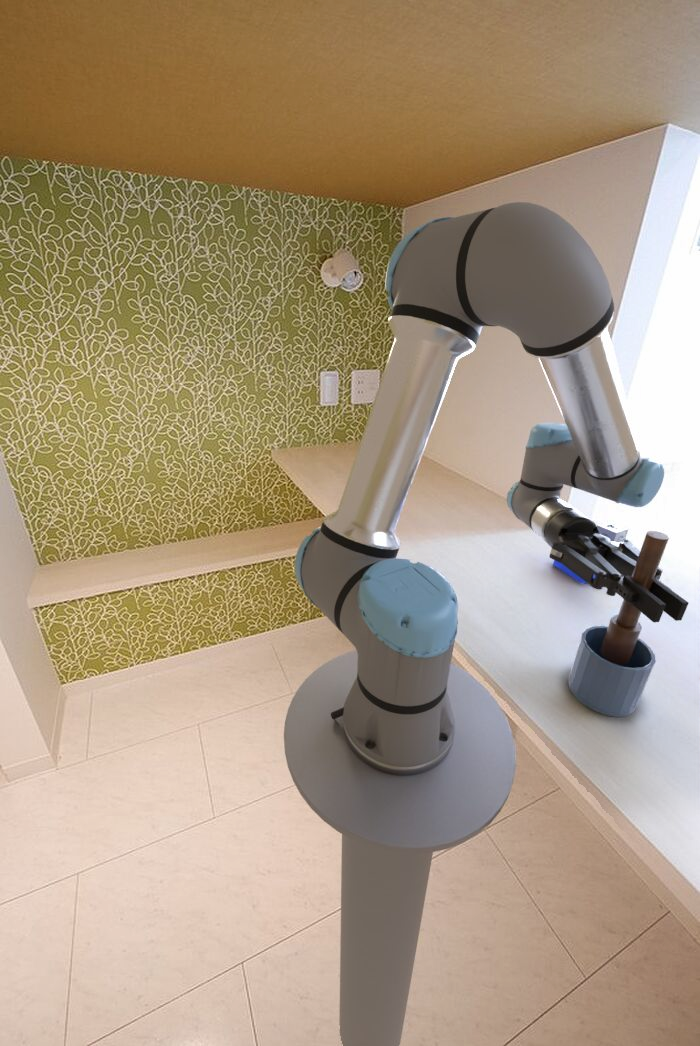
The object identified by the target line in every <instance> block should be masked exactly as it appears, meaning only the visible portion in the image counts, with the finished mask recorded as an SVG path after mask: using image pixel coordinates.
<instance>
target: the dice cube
mask: <svg viewBox="0 0 700 1046" xmlns="http://www.w3.org/2000/svg"><path fill="white" fill-rule="evenodd" d="M596 526H597V528H598V531H599V533H600V534H601V535H603V536H606V537H608V538H609V539H610V540H611V542H618V543H620V542H621V541H622V539H627V536H628V531H629V528H628V527H624V526H622V525H619V524H618V523H615V522H612V521H611V520H609V521H606V522H603V523H600V524H596Z"/></svg>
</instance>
